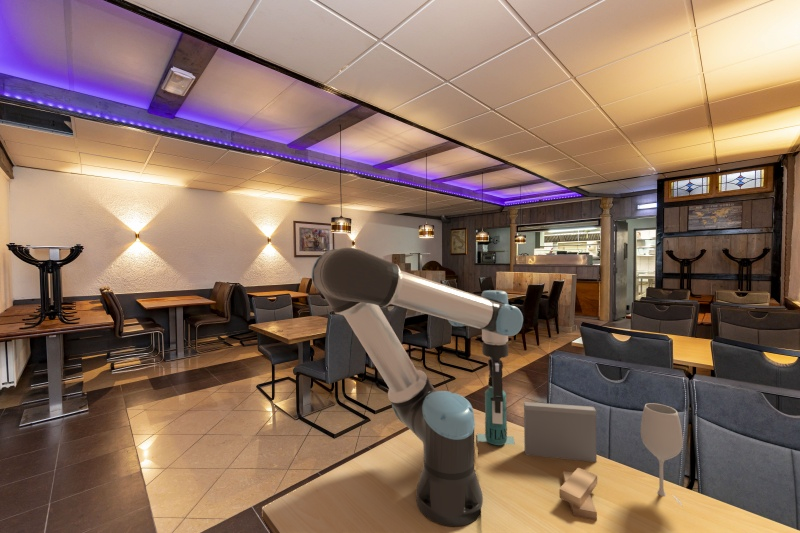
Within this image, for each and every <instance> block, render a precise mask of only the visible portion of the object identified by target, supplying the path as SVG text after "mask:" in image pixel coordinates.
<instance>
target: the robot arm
mask: <svg viewBox="0 0 800 533" xmlns="http://www.w3.org/2000/svg"><path fill="white" fill-rule="evenodd" d="M311 280H312V283H313V286H314V288H315V289H316V290H317V291H318V292H319V293H320V294H321V295H322V296H323V297H324V299H325V300H326V301H327V304H328V305H329V306H330V308H331V310H332V311H333V312H334V314H335V315H341V316H344V318H345V319H346V321H347V323H348V324H349V326H350V327H351V329H352V331H353V333H354V335H355V337H357V339H358V341H359V342H360V344H361V346H362V347H363V348H364V350H365V352H366V353H367V355H368V357H369V358H370V361H372V363H373V365H374V366H375V368H376V370H377V371H378V373H379V374H380V376H381V378H382V379H383V380H384V383H385V384H386V385H387V387H388V391H387V398H388V400H389V402H390V403H391V407H392V410H393V412H394V414H395V416H396V417H397V419H398V420H399V421H400V422H401V423H403V425H405V426H406V427H407V428H408V429H409V430H410V431H411V432H412V433H413V434H414V435H416V437H417V438H418V439H419V440H420V441H421V442H422V444H423V467H422V470H421V473H420V476H419V479H418V483H417V487H416V504H417V507H418V509H419V511H420V512H421V513H422V514H423V516H424V517H426V518H427V519H428V520H430V521H431V522H434V523H436V524H439V525H442V526H445V527H446V526H447V527H461V526H465V525H468V524H471V523H473V522H474V521H476V520H477V519H479V517H480V515H481V514H482V506H483V505H484V504H483V503H484V502H483V501H484V497H483V496H484V495H483V491H482V488H481V486H480V482H479V479H478V475H477V473H476V470H475V469H476V468H475V427H476V426H475V425H476V420H475V416H474V414H475V413H474V408H473V406H472V404H471V402H470V401H469V400H468V399H467V398H465V397H464V396H463V395H461V394H458V392H457V393H456V392H453V393H452V392H451V391H448V390H436V388H435V387H434V385H433V384H432V383H431V381H430V378H429V377H428V376H427V374H426V372H424V371H423V370H420V369H417V368H416V367H415V364H414V362H413V361H412V360H411V358H410V356H409V354H408V353H407V351H406V350H405V348H404V346H403V345H402V343H401V340H399V338H398V336H397V335H396V333H395V331H394V329H393V327H392V326H391V324H390V322H389V320H388V319H387V317H386V315H385V314H384V312H383V310H382V309H381V307H384V308H385V307H388V306H389V305H393V306H397V307H401V308H404V309H408V310H411V311H416V312H419V313H422V314H425V315H429V316H434V317H437V318H440V319H445V320H447V321H448V323H449V324H450V325H451V326H453V327H466V326H468V327H471V328H476V329H479V330H481V340H482V341H483V342H482V344H481V346H482V349H481V350H482V355H483V356H485V357H489V359H488V372H489V374H488V379H489V378H490V377H492V388H493V398H490V401H492V422H493V423H495V424H503V391H504V390H503V386H502V384H503V376H504V375H503V368H504V364H503V360H501V359H502V358H507V357H508V356H509V343H508V342H509V337H513V336H515V335H518V333H520V331H521V330H522V327H523V323H524V316H523V313H522V311H521V310H520V308H518V307H517V306H515V305H510V304H509V298H508V293H507V292H506V291H504V290H497V289H496V290H495V289H494V290H483V291H482V293H481V296H480V295H477V294H473V293H471V292H466V291H464V290H461V289H458V288H455V287H452V286H449V285H446V284H442V283H440V282H437V281H434V280H431V279H428V278H425V277H421V276H418V275H415V274H412V273H409V272H406V271H404V270H401V268H400V266H399V265H398V263H394V262H392V261H389V260H386V259H383V258H381V257H378V256H377V255H373V254H371V253H369V252H367V251H364V250H362V249H359V248H354V247H342V248H337V249H335V248H334V249H330V250H328V251H325V252H324V253H322V254H321V255H320V256H319V257H318V258H317V259H316V260H315V262H314V263H313V266H312V267H311ZM489 388H491V386H489ZM496 396H500V397H496Z"/></svg>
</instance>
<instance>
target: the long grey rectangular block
mask: <svg viewBox="0 0 800 533" xmlns="http://www.w3.org/2000/svg"><path fill="white" fill-rule="evenodd" d="M523 415H524V416H523V420H524V421H523V426H524V427H523V428H524V429H523V430H524V431H523V432H524V433H523V434H524V439H523V440H524V442H523V443H524V453H525V455H526V456H532V457H533V456H534V457H542V458H554V459H564V460H573V461H583V462H592V463H597V461H598V460H597V457H598V456H597V410H596V408H595V407H594V406H587V405H586V406H585V405H573V404H571V405H570V404H559V403H558V404H557V403H556V404H555V403H544V402H530V401H524V402H523Z"/></svg>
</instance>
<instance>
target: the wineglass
mask: <svg viewBox="0 0 800 533" xmlns="http://www.w3.org/2000/svg"><path fill="white" fill-rule="evenodd" d="M640 438H641V441H642V443H643V445H644V446H645V448H646V449H647V450H648V451H649V452H650V453H651V454H652V455H653V456H654V457H655V458H657V460H658V466H659V470H658V472H659V473H658V474H659V477H658V478H659V483H658V484H659V488H658V490H657V491H656V493H657V494H658V495H659V496H660V497H661V496H662V497H667V494H666V493H665V490H664V464H665V461H667V460H671V459H672V458H675V457H676V456H678V455H679V454H680V453H681V452H682V449H683V444H684V438H683V430H682V425H681V421H680V417H679V413H678V410H676V409H675V408H674V407H671V406H668V405H665V404H662V403H653V402H652V403H645V404H644V407H643V410H642V415H641V422H640ZM671 496H672V497H673V498H674V499H675V501H676V502H677V503H678V504H679V505H680V506H681V507H683V504H682V502H681V501H680V499H679V498H677V496H675V495H674V494H671Z"/></svg>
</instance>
